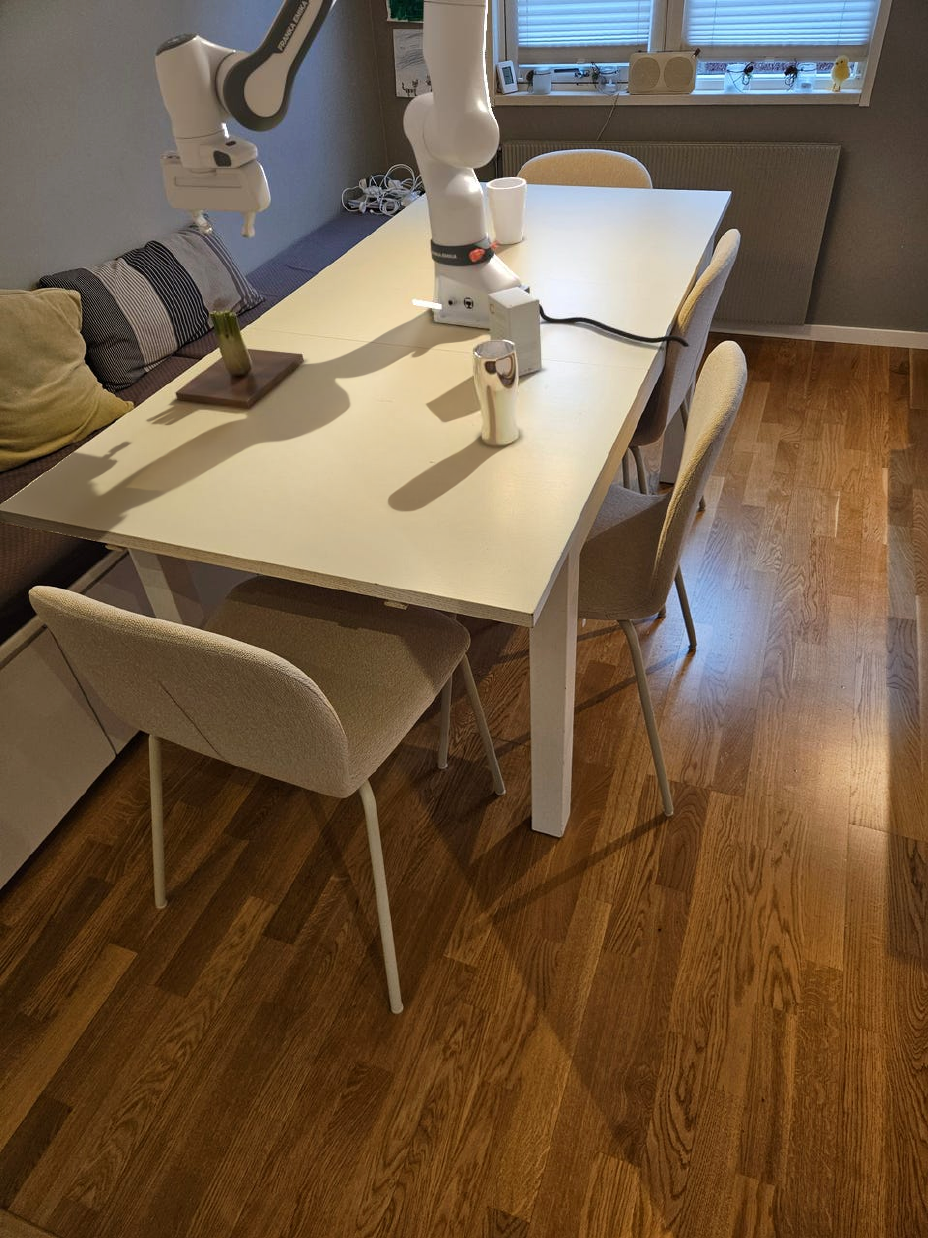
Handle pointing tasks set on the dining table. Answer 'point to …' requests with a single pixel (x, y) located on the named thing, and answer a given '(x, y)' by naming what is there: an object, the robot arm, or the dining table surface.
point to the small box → (517, 325)
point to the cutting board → (240, 380)
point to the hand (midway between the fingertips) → (227, 235)
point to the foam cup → (507, 208)
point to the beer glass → (496, 390)
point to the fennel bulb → (231, 343)
